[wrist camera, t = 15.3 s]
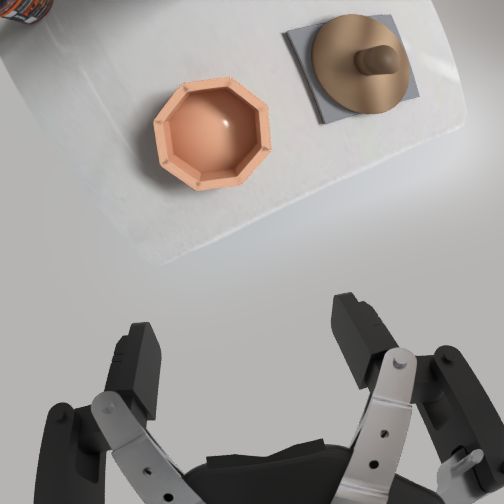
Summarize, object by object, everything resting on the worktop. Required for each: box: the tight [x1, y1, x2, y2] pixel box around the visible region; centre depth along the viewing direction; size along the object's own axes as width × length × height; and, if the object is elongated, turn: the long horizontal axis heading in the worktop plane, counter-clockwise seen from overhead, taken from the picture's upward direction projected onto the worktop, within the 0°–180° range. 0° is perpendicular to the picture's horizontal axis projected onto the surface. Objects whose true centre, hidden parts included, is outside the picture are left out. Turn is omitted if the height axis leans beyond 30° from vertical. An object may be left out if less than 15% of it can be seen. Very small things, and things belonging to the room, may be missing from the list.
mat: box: [287, 15, 420, 124], centre depth 28 cm, size 16×13×1 cm
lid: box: [311, 14, 410, 114], centre depth 26 cm, size 14×14×6 cm
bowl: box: [153, 77, 271, 191], centre depth 30 cm, size 12×12×5 cm
